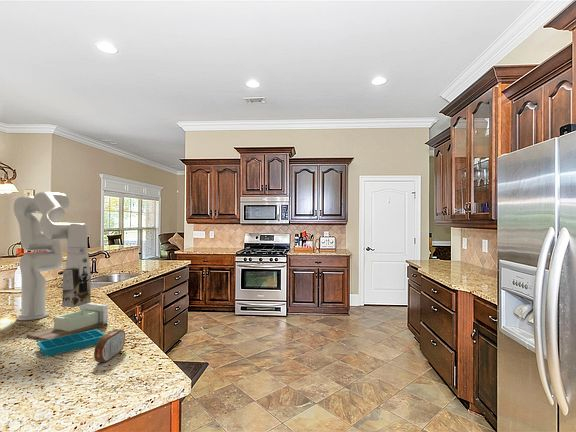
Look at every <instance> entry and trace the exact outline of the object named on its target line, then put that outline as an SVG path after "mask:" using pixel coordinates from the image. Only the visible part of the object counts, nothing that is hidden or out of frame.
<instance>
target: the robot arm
mask: <svg viewBox="0 0 576 432" xmlns="http://www.w3.org/2000/svg"><path fill="white" fill-rule="evenodd" d="M69 206H70V198H69V197H68V196H67V195H66V194H65V193H61V192H52V191H41V192H38V193H35V195H23V196H18V197H17V198H16V199H15V200H14V201H13V213H14V216H15V218H16V221H17V222H18V226H19V238H20V244H21V247H22V249H23V250H24V251H28V252H29V253H27V254H24V255H22V256H21V257H20V259H19V262H18V263H19V269H20V276H21V296H20V297H21V301H20V302H21V303H20V305H21V307H20V309H19V312H20V315H18V316H17V317H16V319H17V320H18V321H32V320H38V319H44V318H46V317H48V316H50V312H49V311H46V307H47V306H46V301H47V300H46V299H47V298H46V294H47V291H46V290H47V288H46V287H47V284H46V283H47V282H46V281H47V280H46V277H44V275H43V274H41V273H42V272H49V271H56V270H58V269H60V268H61V267H62V265H63V255H62V254H63V253H62V246H61V241H63V240H65V241H66V242H67V243H66V245H67V247H66V248H67V249H66V253H67V254H66V260H65V269H78V277H79V278H80V284H79V293H83V292H87V283H88V280H89V278H90V276H91V277H92V272H91V273H90V267H91V264H90V257H89V254H88V225H87V224H86V223H84V222H83V223H81V222H80V223H78V222H58V221H60V220H61V219H62V218H63V217H64V216H65V214H66V211H65V210H67V209H68V208H69ZM34 214H41V215H42V216H41V217H40V219H38V217H36V216H35V215H34ZM33 251H46V252H33ZM82 274H83V275H84V276H82ZM82 278H84V279H82Z"/></svg>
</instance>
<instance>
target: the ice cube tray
mask: <svg viewBox="0 0 576 432" xmlns="http://www.w3.org/2000/svg"><path fill="white" fill-rule="evenodd" d="M105 334H106V333H104V332H103V331H101V330H99V329H93V330H90V331H86V332H81V333H76V334H72V335H67V336H62V337H58V338H53V339H49V340H44V341H42V340H39V341H38V342H36V344H37V346H38V347H39V350H40V351H41V352H42V354H43V355H44V356H45V357H50V356H54V355H55V356H56V355H58V354H62V353H66V352H67V353H68V352H70V351H74V350H78V349H83V348H87V347H92V346H94V345H95V346H96V344H97V342H98V340H99V339H100V338H101V337H102V336H103V335H105Z"/></svg>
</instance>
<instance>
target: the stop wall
mask: <svg viewBox="0 0 576 432" xmlns="http://www.w3.org/2000/svg"><path fill="white" fill-rule="evenodd" d="M80 310H89V311H96V312H98V323H100V324H105V323H107V324H108V317H109V316H108V315H109V311H108V304H104V303H103V304H102V303H94V302H90V303H87V304H84V305H80V306H79V311H80Z"/></svg>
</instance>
